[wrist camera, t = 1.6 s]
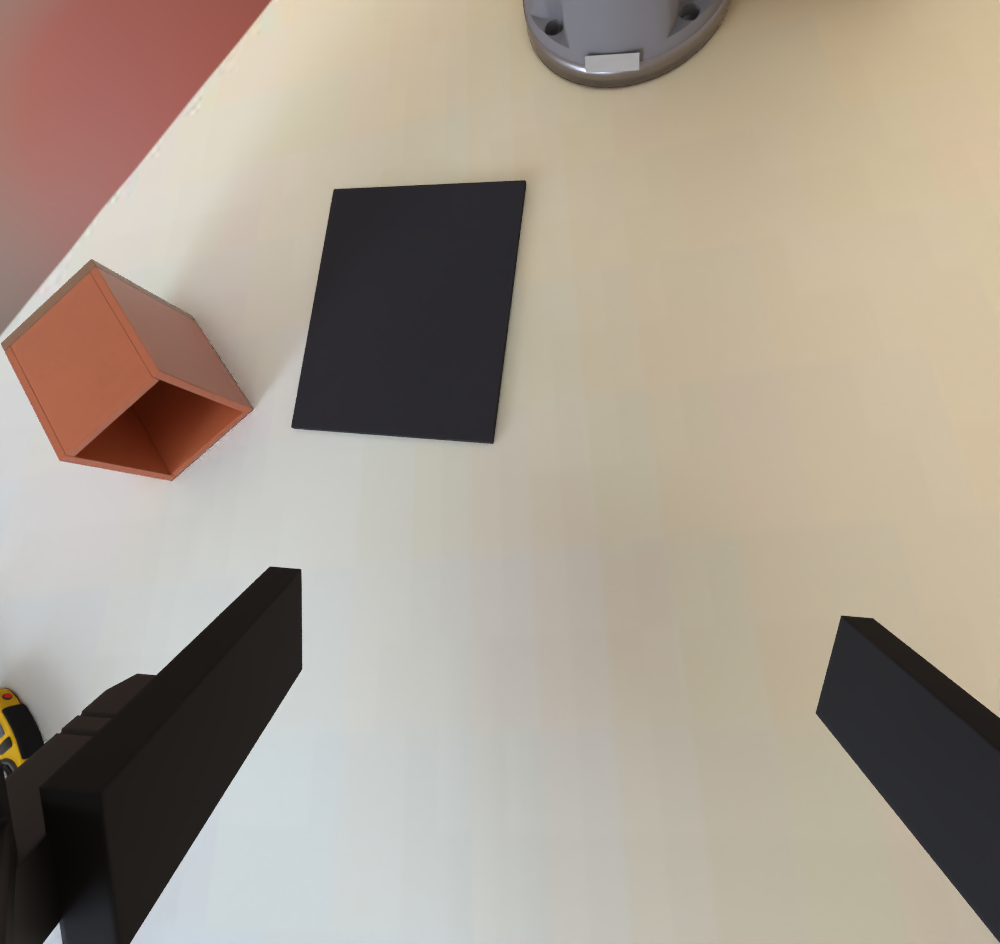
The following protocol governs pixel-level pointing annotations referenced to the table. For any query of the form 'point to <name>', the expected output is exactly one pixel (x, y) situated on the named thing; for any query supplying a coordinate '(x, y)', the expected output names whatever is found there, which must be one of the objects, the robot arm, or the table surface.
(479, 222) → the mat
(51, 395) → the open square box
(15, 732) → the yellow screwdriver
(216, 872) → the table surface
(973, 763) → the robot arm
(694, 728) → the table surface
